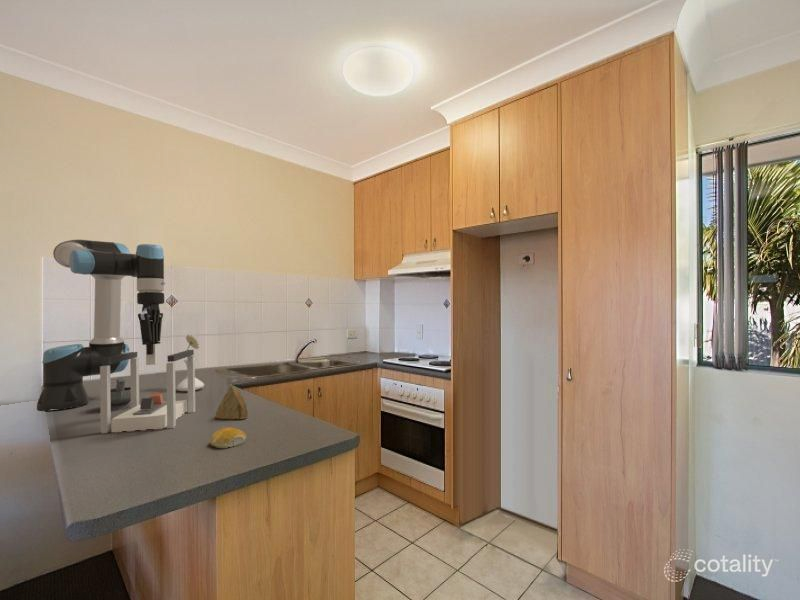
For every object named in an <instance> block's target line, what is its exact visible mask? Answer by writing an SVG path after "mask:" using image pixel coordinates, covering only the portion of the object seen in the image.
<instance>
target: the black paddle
mask: <svg viewBox="0 0 800 600" xmlns="http://www.w3.org/2000/svg"><path fill="white" fill-rule="evenodd" d="M140 404H141V406H140V409H142V410H143V409H153V404H154V398H150V397H147V398H145V397H143V398H141V400H140Z"/></svg>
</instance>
